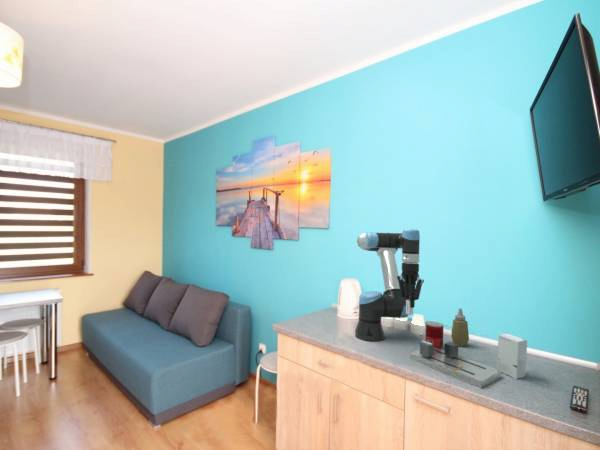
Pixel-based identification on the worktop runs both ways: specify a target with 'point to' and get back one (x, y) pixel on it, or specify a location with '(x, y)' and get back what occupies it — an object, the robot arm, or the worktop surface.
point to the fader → (426, 348)
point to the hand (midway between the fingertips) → (409, 314)
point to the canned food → (434, 333)
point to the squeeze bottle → (460, 329)
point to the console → (458, 365)
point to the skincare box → (511, 355)
